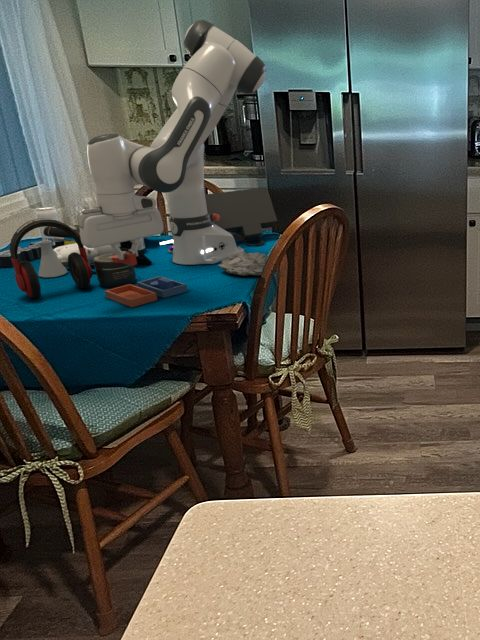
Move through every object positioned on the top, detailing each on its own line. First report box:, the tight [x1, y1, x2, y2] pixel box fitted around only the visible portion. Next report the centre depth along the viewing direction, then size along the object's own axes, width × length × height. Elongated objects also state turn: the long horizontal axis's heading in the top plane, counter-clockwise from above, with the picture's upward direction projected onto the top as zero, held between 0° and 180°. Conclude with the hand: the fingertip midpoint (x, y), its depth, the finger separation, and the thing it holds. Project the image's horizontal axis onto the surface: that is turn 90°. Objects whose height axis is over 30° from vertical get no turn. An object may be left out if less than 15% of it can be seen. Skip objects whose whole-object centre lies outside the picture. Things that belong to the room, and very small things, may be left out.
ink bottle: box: [119, 238, 146, 253], centre depth 213 cm, size 10×9×12 cm
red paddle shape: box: [112, 251, 138, 266], centre depth 169 cm, size 9×4×3 cm, turn 54°
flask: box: [37, 240, 69, 278], centre depth 191 cm, size 7×7×10 cm
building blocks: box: [167, 245, 173, 254], centre depth 218 cm, size 6×8×2 cm
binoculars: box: [53, 243, 94, 260], centre depth 206 cm, size 10×16×5 cm, turn 141°
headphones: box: [9, 218, 93, 299], centre depth 174 cm, size 18×10×20 cm, turn 134°
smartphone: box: [120, 248, 153, 265], centre depth 202 cm, size 7×1×15 cm
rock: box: [218, 252, 280, 277], centre depth 196 cm, size 17×4×15 cm
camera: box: [205, 186, 278, 243], centre depth 229 cm, size 25×16×16 cm, turn 126°
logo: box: [0, 238, 72, 268], centre depth 209 cm, size 24×3×10 cm
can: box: [35, 205, 65, 241], centre depth 226 cm, size 6×6×12 cm
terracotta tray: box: [104, 283, 158, 308], centre depth 173 cm, size 13×7×2 cm, turn 53°
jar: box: [93, 253, 137, 289], centre depth 184 cm, size 10×10×8 cm
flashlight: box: [44, 226, 80, 239], centre depth 218 cm, size 4×5×25 cm
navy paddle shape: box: [150, 277, 174, 290], centre depth 179 cm, size 9×4×3 cm, turn 53°
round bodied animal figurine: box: [84, 244, 117, 265], centre depth 195 cm, size 7×12×8 cm, turn 138°
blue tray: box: [136, 276, 188, 299], centre depth 180 cm, size 13×7×2 cm, turn 53°
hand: (128, 257), depth 168 cm, fingers closed on red paddle shape
